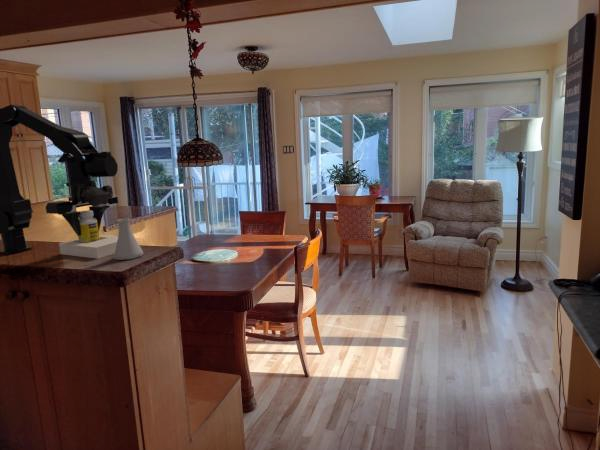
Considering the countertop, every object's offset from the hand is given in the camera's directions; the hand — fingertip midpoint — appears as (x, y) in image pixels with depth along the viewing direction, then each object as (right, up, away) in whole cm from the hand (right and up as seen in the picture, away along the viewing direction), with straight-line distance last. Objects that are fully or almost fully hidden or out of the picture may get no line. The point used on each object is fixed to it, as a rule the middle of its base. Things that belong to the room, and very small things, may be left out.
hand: (88, 233), depth 125 cm
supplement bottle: (0, -4, +1) cm, 4 cm away
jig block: (+3, -5, 0) cm, 6 cm away
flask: (+15, -6, -9) cm, 19 cm away
